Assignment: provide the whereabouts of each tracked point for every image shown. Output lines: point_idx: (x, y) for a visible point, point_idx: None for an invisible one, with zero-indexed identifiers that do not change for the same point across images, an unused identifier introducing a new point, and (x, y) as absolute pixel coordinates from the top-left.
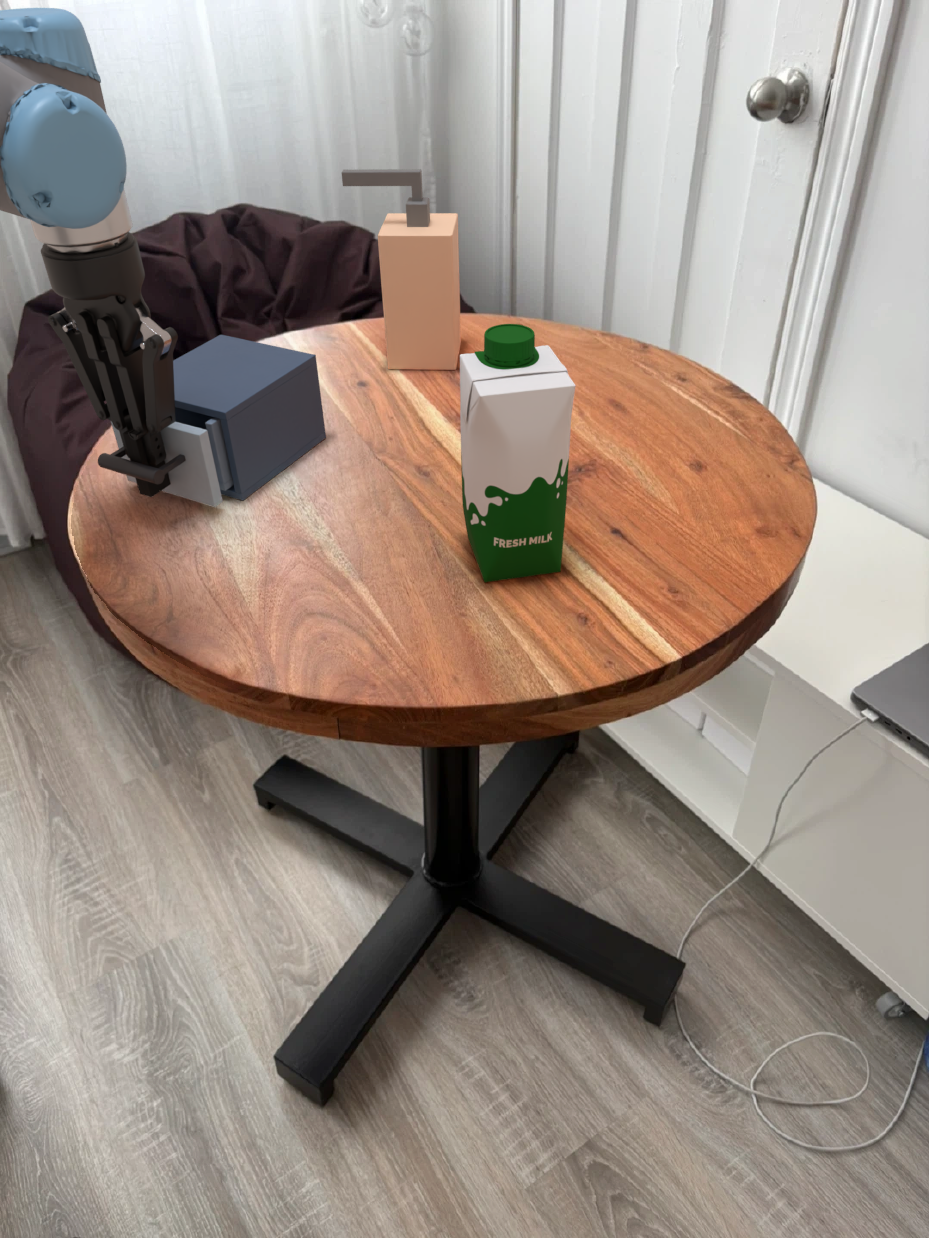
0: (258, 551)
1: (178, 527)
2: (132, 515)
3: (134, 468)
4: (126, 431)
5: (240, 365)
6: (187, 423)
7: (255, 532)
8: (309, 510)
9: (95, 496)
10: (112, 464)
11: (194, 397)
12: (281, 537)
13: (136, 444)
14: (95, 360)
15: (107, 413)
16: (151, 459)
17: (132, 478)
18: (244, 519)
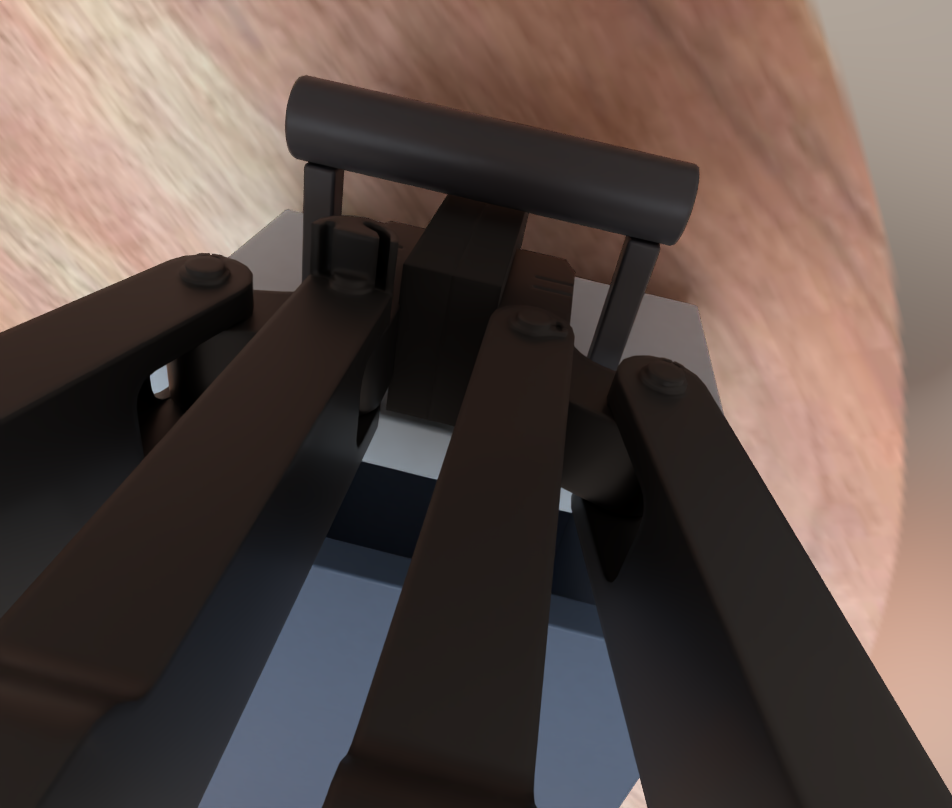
0: (26, 18)
1: (378, 89)
2: (596, 122)
3: (427, 125)
4: (489, 309)
5: (327, 789)
6: (561, 575)
7: (120, 132)
8: (74, 287)
9: (815, 215)
10: (585, 150)
11: (313, 607)
12: (30, 126)
13: (420, 245)
14: (505, 791)
15: (611, 390)
16: (402, 236)
17: (668, 305)
18: (205, 198)
